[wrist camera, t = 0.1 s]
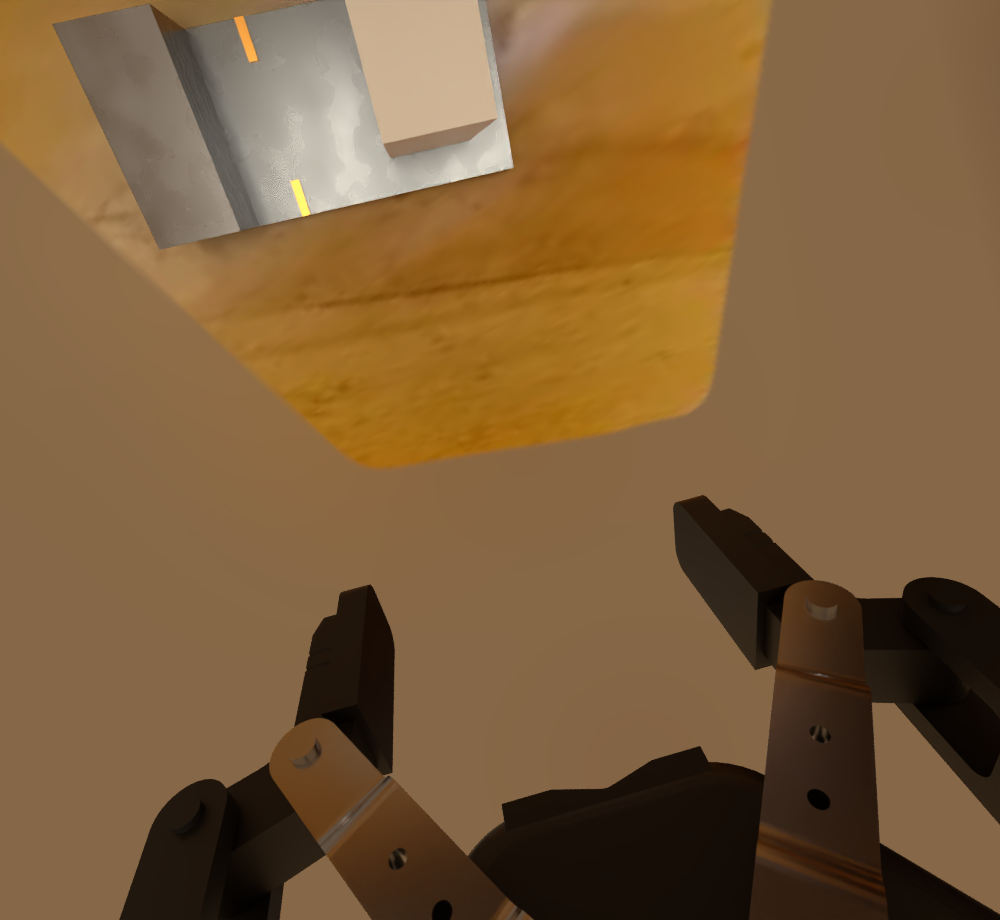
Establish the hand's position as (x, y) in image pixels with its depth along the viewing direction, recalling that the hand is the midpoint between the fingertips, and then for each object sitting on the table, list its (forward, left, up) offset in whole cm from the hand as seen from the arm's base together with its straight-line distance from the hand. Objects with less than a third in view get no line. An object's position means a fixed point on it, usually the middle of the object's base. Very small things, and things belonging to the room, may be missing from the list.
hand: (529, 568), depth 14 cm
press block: (-14, +1, -27) cm, 31 cm away
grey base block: (-14, -4, -29) cm, 33 cm away
